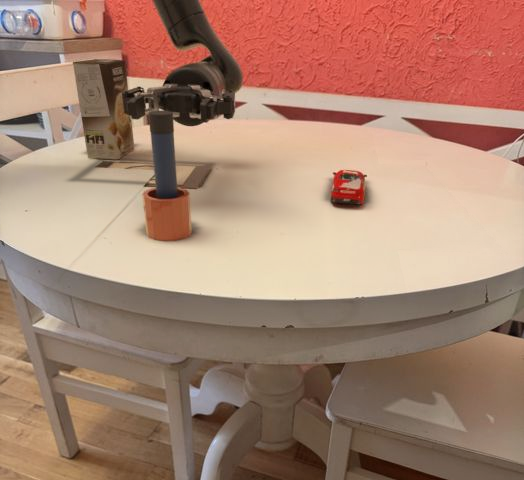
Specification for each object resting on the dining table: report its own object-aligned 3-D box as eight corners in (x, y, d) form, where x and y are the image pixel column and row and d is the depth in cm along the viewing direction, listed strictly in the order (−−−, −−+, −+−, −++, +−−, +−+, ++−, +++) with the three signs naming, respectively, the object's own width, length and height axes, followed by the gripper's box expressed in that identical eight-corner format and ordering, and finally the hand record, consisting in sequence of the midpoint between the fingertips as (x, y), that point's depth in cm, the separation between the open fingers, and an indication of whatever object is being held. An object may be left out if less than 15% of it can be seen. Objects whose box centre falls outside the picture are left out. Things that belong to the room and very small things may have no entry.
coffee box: (119, 160, 95) (106, 63, 86) (86, 158, 96) (71, 61, 86) (135, 149, 102) (125, 59, 93) (105, 147, 103) (93, 57, 94)
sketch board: (74, 185, 81) (73, 180, 80) (103, 164, 92) (102, 159, 92) (196, 192, 80) (196, 187, 79) (210, 169, 91) (210, 164, 91)
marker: (157, 234, 63) (145, 114, 55) (162, 227, 65) (151, 110, 57) (178, 236, 63) (169, 115, 55) (182, 228, 65) (174, 111, 57)
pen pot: (142, 243, 62) (137, 199, 59) (153, 227, 67) (149, 185, 64) (186, 245, 62) (183, 201, 59) (195, 229, 66) (193, 187, 63)
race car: (333, 183, 86) (335, 159, 84) (364, 186, 85) (368, 161, 83) (326, 207, 75) (329, 180, 73) (362, 210, 75) (366, 183, 72)
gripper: (143, 62, 71) (105, 73, 58) (242, 65, 71) (226, 78, 57) (148, 119, 76) (114, 142, 62) (242, 123, 75) (227, 147, 61)
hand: (168, 111), depth 60 cm, fingers open, 8 cm apart
